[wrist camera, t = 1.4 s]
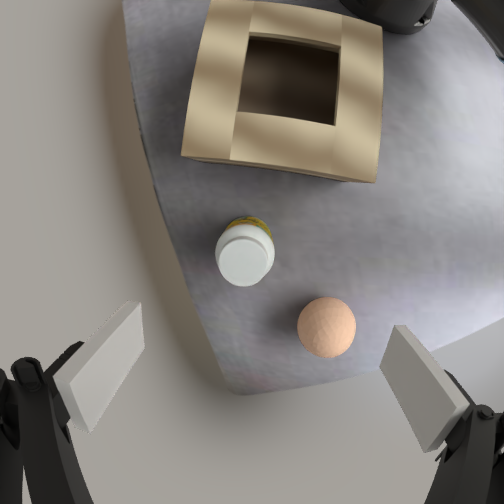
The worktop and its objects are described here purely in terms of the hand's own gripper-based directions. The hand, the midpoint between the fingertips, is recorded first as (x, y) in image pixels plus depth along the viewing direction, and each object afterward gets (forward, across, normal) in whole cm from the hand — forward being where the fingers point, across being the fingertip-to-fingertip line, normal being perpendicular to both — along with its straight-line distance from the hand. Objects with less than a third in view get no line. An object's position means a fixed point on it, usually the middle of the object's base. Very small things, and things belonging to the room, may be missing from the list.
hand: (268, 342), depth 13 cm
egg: (+19, +8, -7) cm, 22 cm away
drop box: (+19, 0, +17) cm, 26 cm away
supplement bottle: (+19, -2, +1) cm, 20 cm away
